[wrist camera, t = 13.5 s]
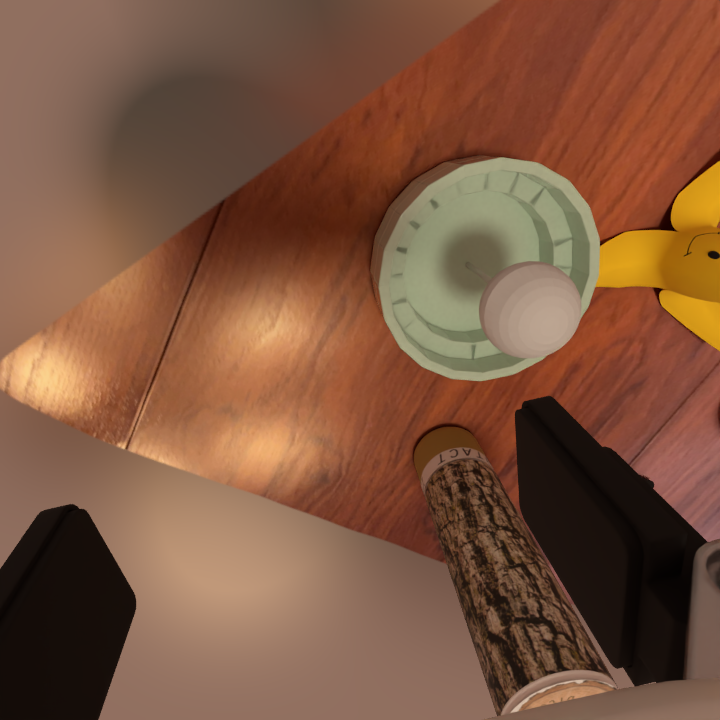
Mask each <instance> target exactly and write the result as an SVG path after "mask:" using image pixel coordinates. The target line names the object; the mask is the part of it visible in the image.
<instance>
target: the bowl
mask: <svg viewBox="0 0 720 720" xmlns="http://www.w3.org/2000/svg"><path fill="white" fill-rule="evenodd" d="M599 259H600V238H599V235H598V232H597V229H596V225H595V222H594V219H593V216H592V212H591V209H590V206H589V205H588V204H587V203H586V201H585V200H584V199H583V197H582V196H581V195H580V194H579V192H578V191H577V190H576V188H575V187H574V186H573V185H572V183H571V182H570V181H569V180H568V179H566V178H564V177H563V176H561V175H559V174H557V173H556V172H554V171H552V170H550V169H549V168H547V167H545V166H543V165H542V164H540V163H537V162H531V161H525V160H518V159H511V158H504V157H492V156H479V155H478V156H472V157H467V158H462V159H457V160H453V161H448V162H444V163H442V164H440V165H438V166H437V167H435V168H433V169H431V170H430V171H428V172H426V173H424V174H423V175H421V176H419V177H418V178H416V179H414V181H412V182H411V183H410V184H409V185H408V186H407V187H406V188H405V190H404V191H403V192H402V193H401V194H400V195H399V196H398V197H397V198H396V199H395V201H394V202H393V203H392V204H391V205H390V207H389V208H388V210H387V212H386V214H385V216H384V218H383V221H382V223H381V225H380V227H379V229H378V231H377V233H376V235H375V238H374V245H373V253H372V260H371V267H370V269H371V270H370V272H371V277H372V283H373V288H374V294H375V299H376V302H377V304H378V306H379V309H380V311H381V313H382V316H383V318H384V320H385V322H386V324H387V326H388V328H389V329H390V331H391V333H392V335H393V336H394V338H395V340H396V342H397V344H398V345H399V347H400V348H401V349H402V350H403V351H404V352H405V353H407V354H408V355H409V356H410V357H411V358H412V359H414V360H415V361H416V362H417V363H418V364H419V365H420V366H422V367H423V368H425V369H428V370H430V371H433V372H435V373H438V374H440V375H443V376H445V377H448V378H451V379H458V380H472V381H485V380H490V379H494V378H499V377H504V376H509V375H513V374H516V373H517V372H519V371H521V370H523V369H525V368H527V367H529V366H531V365H533V364H535V363H537V362H539V361H541V360H543V359H544V358H545V357H546V356H547V355H546V356H542V357H537V358H518V357H513V356H510V355H508V354H506V353H504V352H502V351H501V350H499V349H498V348H497V347H495V346H494V345H493V344H492V343H491V342H490V341H489V340H488V338H487V337H486V335H485V333H484V331H483V329H482V327H481V323H480V318H479V304H480V299H481V296H482V293H483V291H484V289H485V288H486V286H487V284H488V283H487V282H485V281H484V280H483V279H481V278H480V277H479V276H478V275H476V274H475V273H474V272H473V271H471V270H470V269H469V268H467V267H466V263H467V262H470V263H472V264H473V265H474V266H476V267H477V268H478V269H480V270H481V271H482V272H484V273H485V274H487V275H488V276H489V277H491V278H493V277H494V276H495V275H496V274H497V273H499V272H500V271H501V270H503V269H505V268H506V267H508V266H511V265H513V264H516V263H521V262H527V261H539V262H544V263H548V264H551V265H553V266H555V267H557V268H559V269H560V270H561V271H563V272H564V273H565V274H566V275H568V276H569V277H570V278H571V280H572V281H573V282H574V284H575V286H576V288H577V290H578V292H579V295H580V299H581V317H582V316H583V314H584V313H585V311H586V310H587V308H588V307H589V304H590V301H591V298H592V295H593V292H594V289H595V286H596V283H597V280H598V277H599ZM581 317H580V319H581Z"/></svg>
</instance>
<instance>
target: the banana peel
mask: <svg viewBox="0 0 720 720" xmlns="http://www.w3.org/2000/svg"><path fill="white" fill-rule="evenodd" d="M719 221H720V161H719V162H717V163H716V164H715V165H713V166H712V167H711V168H709V169H708V170H707V171H705V172H704V173H703V174H701V175H700V176H699V177H698V178H697V179H695V180H694V181H693V182H692V183H691V184H689V185H688V186H687V187H686V188H685V189H684V190H682V191H681V192H680V193H679V194H678V196H677V198H676V200H675V202H674V204H673V207H672V211H671V223H672V225H673V228H674V229H675V230H676V231H677V232H675V231H666V230H639V231H629V232H624V233H622V234H620V235H618V236H616V237H615V238H613V239H611V240H609V241H608V242H606V243H604V244H603V245H601V246H600V259H599V277H598V280H597V283H596V286H595V287H628V286H647V287H656V288H662V289H663V290H661V292H660V294H659V299H660V303H661V305H662V307H663V308H664V309H666V310H667V311H668V312H669V313H670V314H671V315H672V316H674V317H675V318H676V319H677V320H678V321H680V322H681V323H682V324H683V325H685V326H686V327H687V328H688V329H690V330H691V331H692V332H694V333H695V334H696V335H698V336H699V337H700V338H702V339H703V340H704V341H706V342H707V343H709V344H710V345H711V346H713V347H714V348H716V349H717V350H719V351H720V228H716V227H717V225H718V223H719Z"/></svg>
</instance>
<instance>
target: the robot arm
mask: <svg viewBox="0 0 720 720" xmlns="http://www.w3.org/2000/svg"><path fill="white" fill-rule="evenodd" d="M515 427H516V446H517V465H518V485H519V503H520V509H521V512H522V515H523V518H524V520H525V522H526V523H527V525H528V527H529V528H530V530H531V532H532V533H533V535H534V537H535V538H536V540H537V542H538V543H539V545H540V547H541V548H542V550H543V552H544V553H545V555H546V557H547V558H548V560H549V562H550V563H551V565H552V567H553V568H554V570H555V572H556V573H557V575H558V577H559V578H560V580H561V582H562V583H563V585H564V587H565V588H566V590H567V592H568V593H569V595H570V597H571V598H572V600H573V602H574V603H575V605H576V607H577V608H578V610H579V612H580V613H581V615H582V617H583V618H584V620H585V622H586V623H587V625H588V627H589V628H590V630H591V632H592V633H593V635H594V637H595V638H596V640H597V642H598V643H599V645H600V647H601V648H602V650H603V652H604V653H605V655H606V657H607V658H608V660H609V661H610V663H611V664H612V665H613V666H614V667H615V668H617V669H618V668H622V667H623V668H624V670H625V671H626V673H627V675H628V676H629V677H630V679H631V681H632V683H633V684H634V686H635V687H629V688H623V689H617V690H613V691H608V692H604V693H599V694H595V695H590V696H585V697H581V698H576V699H572V700H567V701H563V702H558V703H553V704H549V705H544V706H540V707H535V708H531V709H526V710H522V711H517V712H513V713H509V714H505V715H501V716H497V717H492V718H489V719H484V720H720V539H717V540H714V541H711V542H707V541H706V540H705V539H704V538H703V537H702V536H701V535H700V534H699V533H698V532H697V531H696V530H695V529H694V528H693V527H692V526H691V525H690V524H689V523H688V522H687V521H686V520H685V519H684V518H682V517H681V516H680V515H679V514H678V513H677V512H676V511H675V510H674V509H673V508H672V507H671V506H670V505H669V504H668V503H667V502H666V501H665V500H664V499H663V498H662V497H661V496H660V495H659V494H658V493H657V492H656V491H655V490H654V489H653V488H652V487H651V486H650V485H649V484H648V483H647V482H646V481H645V480H644V479H643V478H642V477H641V476H640V475H639V474H638V473H637V472H635V471H634V470H633V469H632V468H631V467H630V466H629V465H628V464H627V463H626V462H625V461H624V460H623V459H622V458H621V457H620V456H619V455H618V454H617V453H616V452H615V451H613V450H612V449H611V448H608V447H602V446H601V445H600V444H599V443H598V442H597V441H596V440H595V439H594V438H593V437H592V436H591V435H590V434H589V433H588V432H587V431H586V430H585V429H584V428H583V427H582V426H581V425H580V424H579V423H578V422H577V421H576V420H575V419H574V418H573V417H572V416H571V415H570V414H569V413H568V412H567V411H566V410H565V409H564V408H563V407H562V406H561V405H560V404H559V403H558V402H557V401H556V400H555V399H554V398H553V397H551V396H546V397H542V398H537V399H533V400H528V401H524V402H523V404H522V409H519V410H516V412H515ZM135 610H136V598H135V594H134V592H133V590H132V589H131V587H130V585H129V583H128V582H127V580H126V578H125V576H124V575H123V573H122V571H121V569H120V568H119V566H118V564H117V562H116V561H115V559H114V557H113V555H112V554H111V552H110V550H109V549H108V547H107V545H106V543H105V542H104V540H103V538H102V536H101V535H100V533H99V531H98V529H97V528H96V526H95V524H94V522H93V521H92V519H91V517H90V515H89V514H88V513H87V511H86V510H84V509H79V508H78V507H77V506H75V505H73V504H69V505H65V506H60V507H56V508H51V509H47V510H44V511H42V512H40V513H39V515H37V517H36V518H35V520H34V521H33V522H32V524H31V525H30V527H29V529H28V530H27V531H26V533H25V534H24V535H23V537H22V538H21V540H20V541H19V543H18V544H17V546H16V547H15V549H14V550H13V552H12V553H11V554H10V556H9V557H8V559H7V560H6V562H5V563H4V565H3V566H2V567H1V569H0V720H98V719H99V716H100V713H101V710H102V707H103V704H104V701H105V698H106V696H107V693H108V689H109V687H110V684H111V681H112V678H113V674H114V672H115V669H116V666H117V663H118V661H119V658H120V655H121V652H122V649H123V646H124V643H125V640H126V637H127V634H128V631H129V628H130V626H131V623H132V619H133V617H134V614H135ZM651 682H656V683H654V684H648V683H651ZM644 684H648V685H644ZM640 685H641V686H640Z"/></svg>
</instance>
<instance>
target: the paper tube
mask: <svg viewBox="0 0 720 720" xmlns="http://www.w3.org/2000/svg"><path fill="white" fill-rule="evenodd" d="M414 465H415V468H416V471H417V474H418V477H419V480H420V483H421V487H422V490H423V493H424V496H425V499H426V502H427V505H428V508H429V511H430V514H431V517H432V520H433V523H434V526H435V529H436V532H437V535H438V538H439V541H440V544H441V547H442V550H443V553H444V556H445V559H446V563H447V565H448V568H449V572H450V575H451V578H452V580H453V584H454V586H455V589H456V593H457V596H458V599H459V602H460V605H461V608H462V611H463V614H464V617H465V620H466V623H467V626H468V629H469V632H470V635H471V638H472V641H473V644H474V647H475V650H476V653H477V656H478V659H479V662H480V665H481V668H482V671H483V674H484V677H485V680H486V683H487V686H488V689H489V692H490V695H491V698H492V701H493V705H494V708H495V711H496V714H497V716H501V715H505V714H509V713H513V712H517V711H522V710H526V709H531V708H535V707H540V706H544V705H549V704H553V703H558V702H563V701H567V700H572V699H576V698H581V697H585V696H590V695H595V694H599V693H604V692H608V691H613V690H617V689H618V687H617V685H616V683H615V682H614V680H613V678H612V676H611V675H610V673H609V671H608V669H607V668H606V666H605V664H604V662H603V661H602V659H601V657H600V655H599V654H598V652H597V650H596V648H595V647H594V645H593V643H592V641H591V640H590V638H589V636H588V634H587V633H586V631H585V629H584V627H583V625H582V624H581V622H580V620H579V618H578V617H577V615H576V614H575V611H574V610H573V608H572V606H571V604H570V603H569V601H568V599H567V597H566V596H565V594H564V592H563V590H562V589H561V587H560V585H559V583H558V582H557V580H556V578H555V576H554V575H553V573H552V571H551V569H550V568H549V566H548V564H547V562H546V561H545V559H544V557H543V555H542V553H541V552H540V550H539V548H538V546H537V545H536V543H535V541H534V539H533V538H532V536H531V534H530V532H529V531H528V529H527V527H526V525H525V524H524V522H523V520H522V518H521V517H520V515H519V513H518V511H517V510H516V508H515V506H514V504H513V503H512V501H511V499H510V497H509V496H508V494H507V492H506V490H505V489H504V487H503V485H502V483H501V481H500V480H499V478H498V476H497V474H496V473H495V471H494V469H493V467H492V466H491V464H490V462H489V460H488V459H487V457H486V456H485V454H484V452H483V450H482V449H481V447H480V445H479V443H478V442H477V440H476V438H475V437H474V436H473V435H472V434H471V433H470V432H468V431H467V430H465V429H462V428H458V427H442V428H438V429H436V430H433V431H431V432H430V433H428V434H427V435H426V436H424V437H423V438H422V440H421V441H420V442H419V444H418V445H417V447H416V449H415V452H414Z"/></svg>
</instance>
